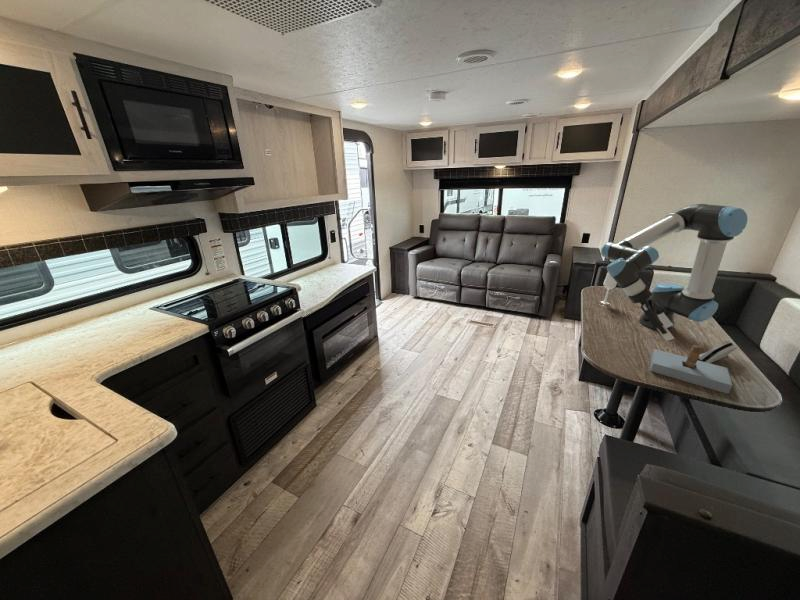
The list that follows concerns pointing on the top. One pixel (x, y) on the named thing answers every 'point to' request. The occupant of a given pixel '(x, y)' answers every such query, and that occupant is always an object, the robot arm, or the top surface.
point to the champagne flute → (608, 286)
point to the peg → (693, 356)
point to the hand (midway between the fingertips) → (670, 332)
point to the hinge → (718, 352)
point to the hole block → (691, 371)
